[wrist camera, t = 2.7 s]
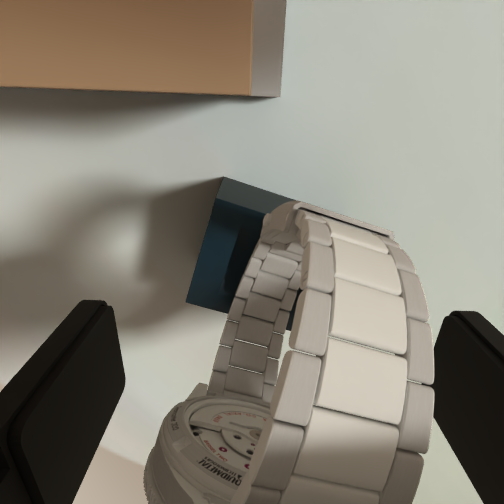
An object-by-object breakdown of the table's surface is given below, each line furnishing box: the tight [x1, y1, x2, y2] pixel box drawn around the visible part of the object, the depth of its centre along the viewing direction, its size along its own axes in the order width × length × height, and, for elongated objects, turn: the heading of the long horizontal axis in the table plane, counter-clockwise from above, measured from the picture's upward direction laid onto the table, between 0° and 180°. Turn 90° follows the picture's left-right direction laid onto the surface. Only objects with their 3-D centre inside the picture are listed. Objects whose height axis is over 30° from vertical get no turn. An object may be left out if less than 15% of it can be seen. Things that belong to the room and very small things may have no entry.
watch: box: [144, 177, 434, 504], centre depth 10 cm, size 6×8×11 cm
